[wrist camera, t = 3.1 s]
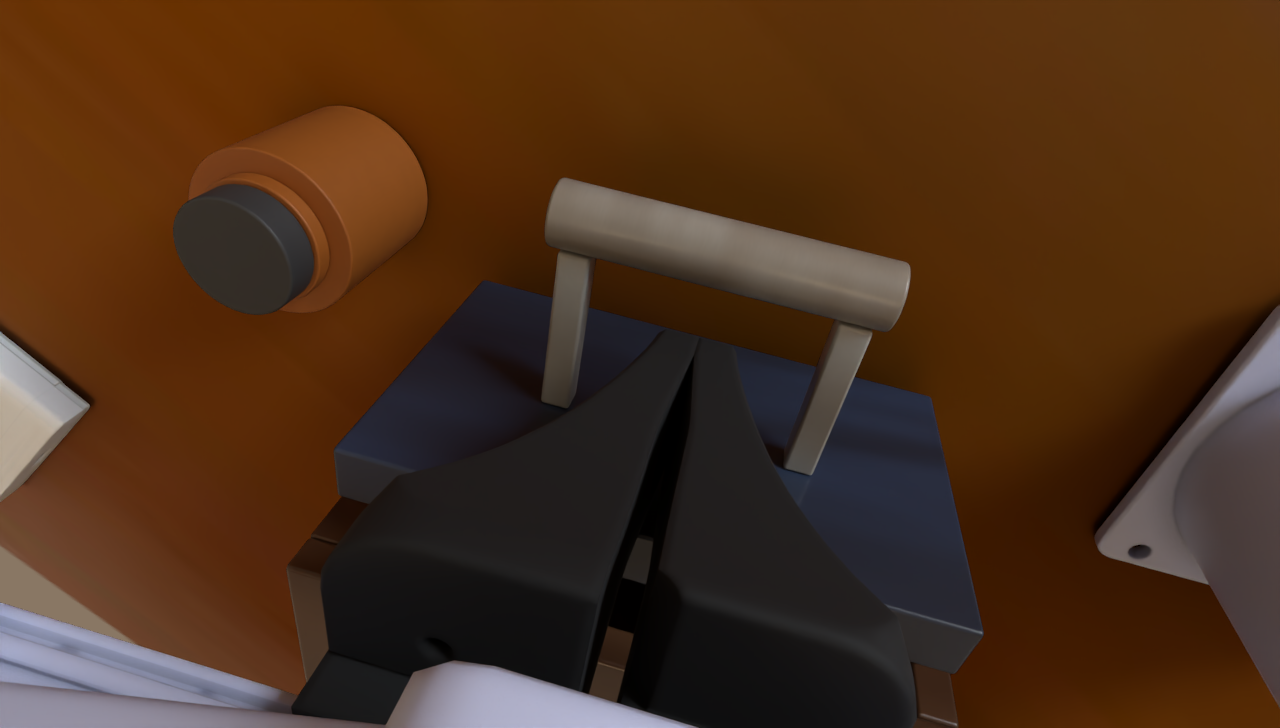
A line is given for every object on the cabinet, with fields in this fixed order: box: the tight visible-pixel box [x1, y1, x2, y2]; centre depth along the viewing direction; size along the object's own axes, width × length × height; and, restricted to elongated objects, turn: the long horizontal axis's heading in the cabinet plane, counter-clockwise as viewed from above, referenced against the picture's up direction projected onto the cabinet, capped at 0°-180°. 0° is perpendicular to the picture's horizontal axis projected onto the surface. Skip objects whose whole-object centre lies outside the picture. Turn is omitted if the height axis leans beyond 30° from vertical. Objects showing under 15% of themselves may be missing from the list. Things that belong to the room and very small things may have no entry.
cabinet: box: [286, 497, 958, 728], centre depth 20 cm, size 14×13×9 cm
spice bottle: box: [173, 106, 428, 315], centre depth 16 cm, size 4×4×5 cm
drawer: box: [334, 178, 984, 674], centre depth 17 cm, size 17×11×7 cm, turn 170°
